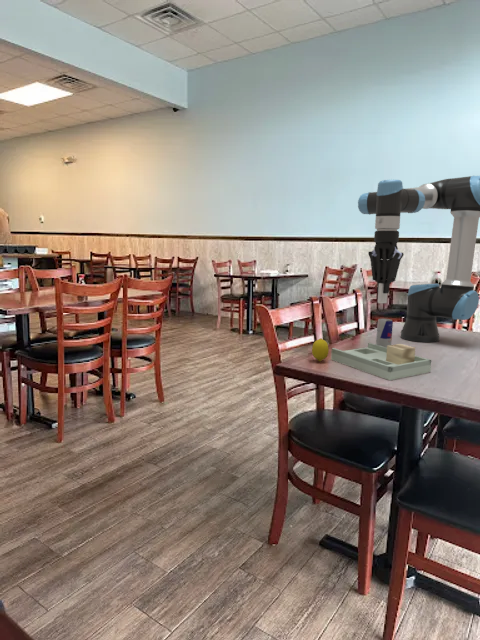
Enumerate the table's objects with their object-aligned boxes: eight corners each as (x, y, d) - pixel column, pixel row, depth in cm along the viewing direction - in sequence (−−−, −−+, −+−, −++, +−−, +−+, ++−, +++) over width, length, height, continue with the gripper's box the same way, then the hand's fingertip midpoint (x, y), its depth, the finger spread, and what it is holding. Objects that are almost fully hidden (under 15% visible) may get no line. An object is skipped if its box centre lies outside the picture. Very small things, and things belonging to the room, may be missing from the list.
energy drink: (391, 353, 163) (393, 321, 161) (376, 352, 164) (378, 320, 162) (389, 350, 168) (392, 318, 166) (375, 349, 169) (377, 318, 167)
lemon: (322, 358, 155) (323, 336, 154) (331, 362, 150) (332, 339, 149) (308, 360, 153) (309, 337, 152) (316, 364, 148) (317, 340, 147)
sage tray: (369, 353, 163) (370, 342, 162) (430, 372, 141) (431, 359, 140) (331, 359, 154) (331, 348, 154) (389, 380, 132) (390, 367, 131)
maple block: (399, 358, 147) (400, 343, 146) (414, 363, 142) (415, 347, 141) (386, 360, 144) (387, 345, 143) (400, 365, 139) (402, 349, 138)
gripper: (363, 230, 148) (359, 301, 152) (394, 229, 136) (389, 306, 141) (379, 230, 151) (375, 299, 155) (411, 230, 140) (405, 304, 144)
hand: (382, 302), depth 148 cm, fingers closed
